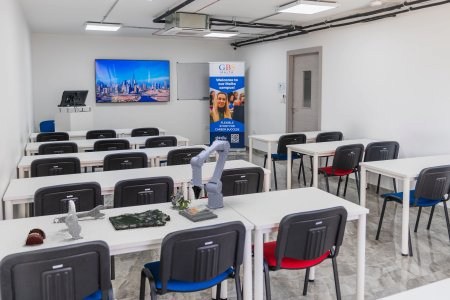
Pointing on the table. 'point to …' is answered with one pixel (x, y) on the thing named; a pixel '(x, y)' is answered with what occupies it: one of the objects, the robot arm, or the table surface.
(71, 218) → the grey figurine
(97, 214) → the wrench
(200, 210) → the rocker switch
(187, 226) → the table surface
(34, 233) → the dark brown rounded lump
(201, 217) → the grey stepped slab
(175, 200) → the passion flower
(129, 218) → the topographical map
